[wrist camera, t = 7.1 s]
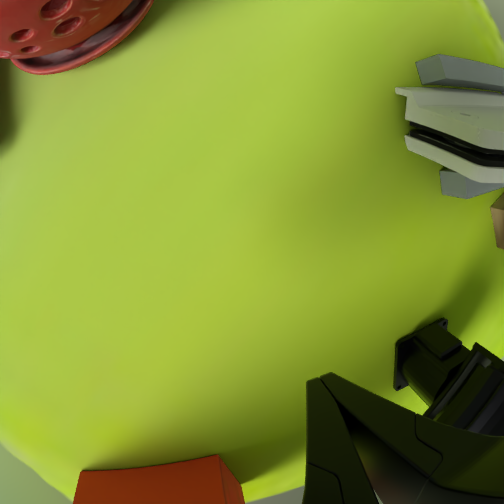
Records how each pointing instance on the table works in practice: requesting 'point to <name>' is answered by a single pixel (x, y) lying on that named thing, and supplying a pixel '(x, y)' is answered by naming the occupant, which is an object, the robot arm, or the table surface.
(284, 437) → the table surface
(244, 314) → the table surface
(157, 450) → the table surface
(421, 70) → the channel jig
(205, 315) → the table surface
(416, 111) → the hinge
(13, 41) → the plant pot
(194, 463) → the file binder
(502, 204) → the spacer block
